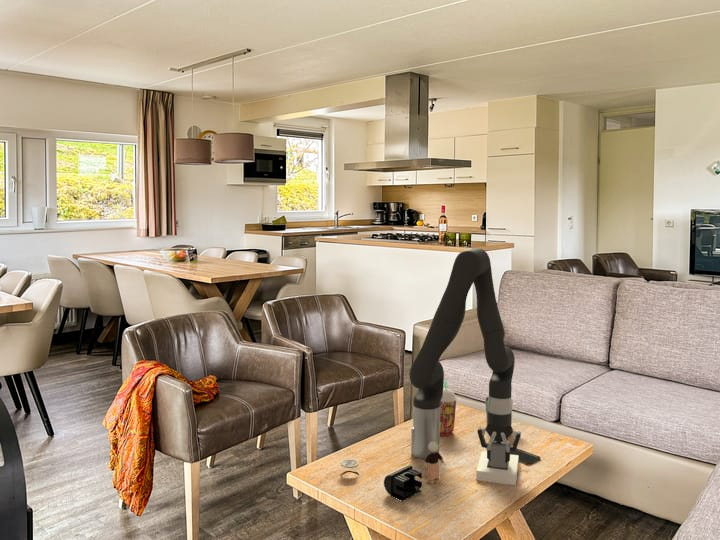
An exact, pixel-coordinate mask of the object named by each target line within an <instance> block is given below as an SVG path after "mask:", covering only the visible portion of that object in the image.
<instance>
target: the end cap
mask: <svg viewBox="0 0 720 540" xmlns="http://www.w3.org/2000/svg"><path fill="white" fill-rule="evenodd" d="M416 477H418V478H419V479H422V478H423V473H422V472H421V471H418V470H416V469H414V465H412V464H411V465H410V464H409V465H406V466H404V467H403V468H400V469H398V470H396V471H394V472H392V473H390V474H388V475H386V476H385V477H384V480H383V486H384V489H385V491H386V493H387V494H389V495H391V496H390V497H392V496H393V497H395V498H394V499H396V498H397V499H396V500H398V499H399V500H398V501H400V500H401V502H405V501H406V500H408V499H410V498H412V497H414V496H415V494H416V495H417V493H418V494H419V493H421V492H422V489H421V488H423V482H422V481H421V480H418V479H416ZM411 496H412V497H411ZM393 497H392V498H393ZM407 498H408V499H407ZM404 500H405V501H404Z"/></svg>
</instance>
